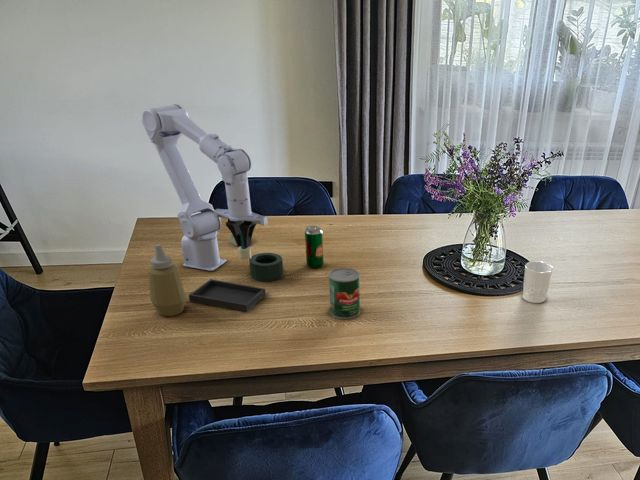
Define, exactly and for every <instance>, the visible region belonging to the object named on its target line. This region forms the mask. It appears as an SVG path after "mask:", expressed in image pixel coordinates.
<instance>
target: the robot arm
mask: <svg viewBox="0 0 640 480" xmlns="http://www.w3.org/2000/svg"><path fill="white" fill-rule="evenodd" d="M141 123H142V125H143V128H144V130H145V132H146V134H147V137H148V138H149V141H150V142H151V143H152V144H153V145H154V148H155V149H156V152H157V155H158V156H159V158H160V161H161V162H162V165H163V167H164V169H165V171H166V174H167V175H168V177H169V180H170V182H171V184H172V186H173V188H174V190H175V192H176V194H177V197H178V199H179V201H180V203H181V205H182V206H181V208H180V210H179V212H178V214H177V218H178V221H179V224H180V230H181V232H182V234H183V236H182V238H181V240H180V241H181V242H180V247H181V254H182V257H183V264H182V266H183V267H184V268H189V269H190V268H191V269H195V270H202V271H203V270H204V271H209V272H213V271H215V270H216V269H218V268H219V267H221V266H222V265H223V264H225V263H226V262H227V259H226V258H221V257H220V250H219V243H218V235H219V231H220V230H221V229H222V219H226V220H227V221H226V222H225V226H226V227H227V229H228V230H229V231H230V233H231V235H232V234H233V236H234V238H235V241H236V243H237V246H236V247H238V248H239V247H240V246H241V242H240V233H242V236H243V242H244V247H245V248H248V247H251V246H252V240H253V239H252V238H253V234H254V231H255V229H256V227H257V224H258V225H260V226H263V227H265V226H266V225H268V216H267V215H266V216H265V215H261V214H258V213H256V212H253V211H252V205H251V197H250V196H251V195H250V187H249V178H248V172H249V171H251V168H252V160H251V156H250V155H249V154H248V153H247V152H246V151H245V150H244V149H243V148H235V147H234V148H233V147H232V145H230V144H228V143H227V142H226V141H224V140H223V139H222V138H220V137H219V135H218V134H217V133H207V132H206V131H205V130H203V129H202V128H201V127H200V126H199V125H198V124H197V123H196V122H195V121H194V120H193V119H191V118H190V116H189V113H188V111H187V109H185V108H183V106H182V105H181V104H179V103H173V104H171V105H162V106H156V107H146V108H144V109H143V111H142V116H141ZM182 135H184V136H185V137H187V138H188V139H189V140H191V141H193V142H194V143H196V144H197V145H199V150H200V152H201V153H202V154H204V155H205V156H206V157H207V158H209V159H210V160H211V161H212V162H214V163H215V164H216V165H217V169H218V171H219V172H220V174H221V179H222V181H223V182H224V186H225V194H226V202H227V209H226V208H225V209H224V208H216V209H214V207H213V204H211V203H209V202H207V201H206V200H203V199H202V198H201V195H200V193H199V191H198V189H197V186H196V184H195V182H194V180H193V178H192V175H191V174H190V171H189V169H188V167H187V164H186V163H185V160H184V158H183V156H182V153H181V152H180V149H179V147H178V145H177V144H178V141H179V139H181V138H182Z"/></svg>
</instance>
